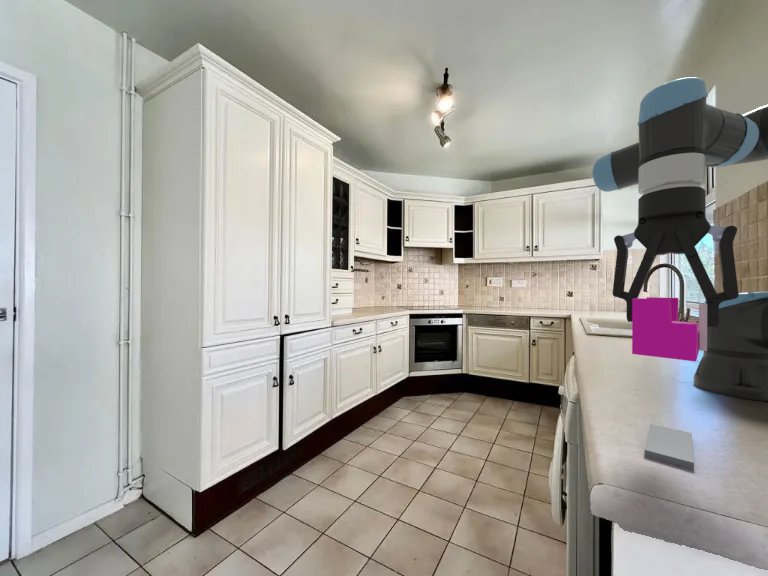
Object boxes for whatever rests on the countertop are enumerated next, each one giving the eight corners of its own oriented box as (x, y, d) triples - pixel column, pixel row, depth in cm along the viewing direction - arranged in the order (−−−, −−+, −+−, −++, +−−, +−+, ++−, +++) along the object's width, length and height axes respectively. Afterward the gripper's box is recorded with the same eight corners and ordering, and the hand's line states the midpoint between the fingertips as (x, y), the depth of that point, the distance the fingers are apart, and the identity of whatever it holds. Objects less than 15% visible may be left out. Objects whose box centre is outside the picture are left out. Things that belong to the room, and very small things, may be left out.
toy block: (696, 361, 39) (696, 300, 39) (632, 354, 44) (632, 298, 44) (700, 346, 50) (700, 298, 50) (648, 341, 54) (648, 297, 54)
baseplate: (650, 430, 54) (650, 424, 54) (691, 439, 51) (691, 433, 51) (644, 456, 45) (644, 449, 45) (693, 470, 42) (693, 462, 42)
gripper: (764, 184, 45) (764, 352, 44) (598, 207, 58) (597, 337, 58) (776, 169, 39) (775, 360, 39) (589, 198, 52) (588, 341, 52)
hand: (669, 346), depth 48 cm, fingers closed on toy block, 6 cm apart
